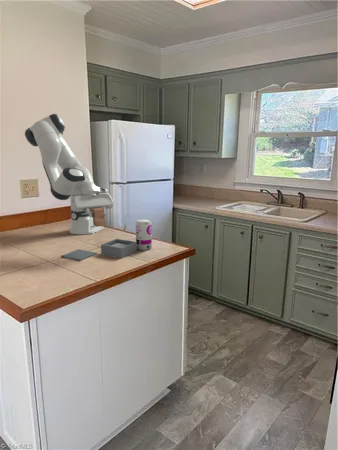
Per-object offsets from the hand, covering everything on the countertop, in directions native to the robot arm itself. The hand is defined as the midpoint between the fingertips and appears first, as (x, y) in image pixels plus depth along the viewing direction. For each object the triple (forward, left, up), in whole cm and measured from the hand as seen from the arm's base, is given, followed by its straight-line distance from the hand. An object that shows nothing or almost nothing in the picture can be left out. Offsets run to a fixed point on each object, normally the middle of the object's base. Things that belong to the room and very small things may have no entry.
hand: (98, 216), depth 162 cm
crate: (-6, +7, -20) cm, 22 cm away
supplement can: (-19, +14, -20) cm, 31 cm away
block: (0, 0, -4) cm, 4 cm away
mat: (+7, -7, -19) cm, 22 cm away
